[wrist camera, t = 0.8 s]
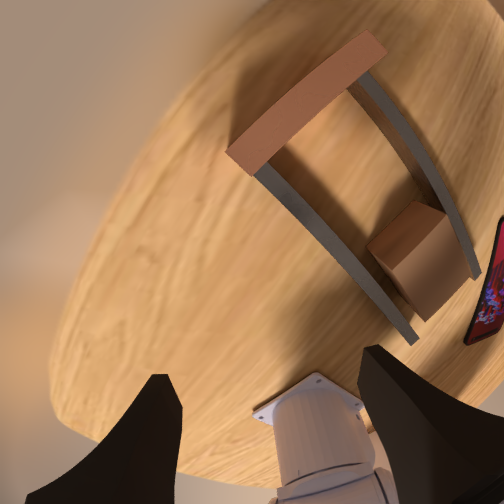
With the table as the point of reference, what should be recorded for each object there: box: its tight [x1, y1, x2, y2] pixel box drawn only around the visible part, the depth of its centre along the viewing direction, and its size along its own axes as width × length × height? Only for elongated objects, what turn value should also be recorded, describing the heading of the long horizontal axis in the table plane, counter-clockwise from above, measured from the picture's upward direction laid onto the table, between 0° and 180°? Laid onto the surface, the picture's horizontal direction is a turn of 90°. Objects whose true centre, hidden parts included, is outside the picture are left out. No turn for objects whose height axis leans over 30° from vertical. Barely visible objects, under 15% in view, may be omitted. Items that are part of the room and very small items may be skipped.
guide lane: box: [225, 29, 482, 346], centre depth 15 cm, size 20×9×5 cm, turn 45°
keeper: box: [366, 200, 471, 322], centre depth 17 cm, size 6×5×4 cm
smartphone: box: [463, 217, 504, 346], centre depth 21 cm, size 8×1×15 cm
